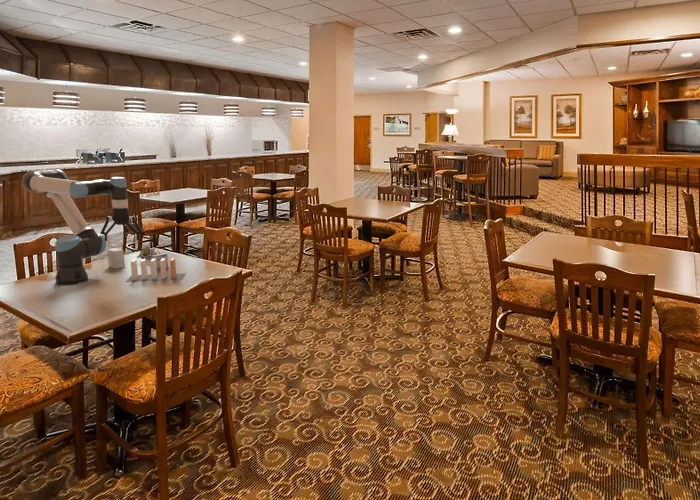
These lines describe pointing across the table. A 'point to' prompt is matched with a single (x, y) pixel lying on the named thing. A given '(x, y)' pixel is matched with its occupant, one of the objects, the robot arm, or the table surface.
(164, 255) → the medicine box
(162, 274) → the domino
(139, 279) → the domino mat
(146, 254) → the passion flower
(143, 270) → the domino
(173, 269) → the terracotta domino
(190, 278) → the table surface
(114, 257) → the small box
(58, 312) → the table surface
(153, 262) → the domino
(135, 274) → the domino
